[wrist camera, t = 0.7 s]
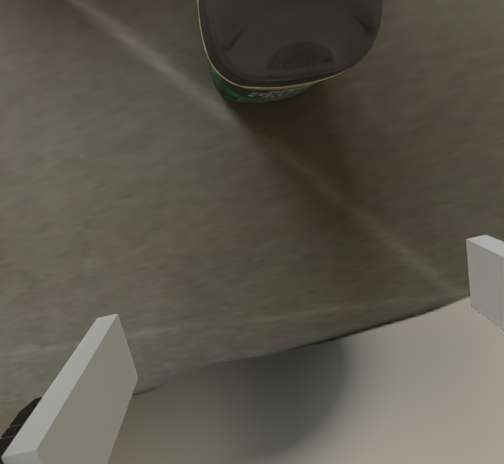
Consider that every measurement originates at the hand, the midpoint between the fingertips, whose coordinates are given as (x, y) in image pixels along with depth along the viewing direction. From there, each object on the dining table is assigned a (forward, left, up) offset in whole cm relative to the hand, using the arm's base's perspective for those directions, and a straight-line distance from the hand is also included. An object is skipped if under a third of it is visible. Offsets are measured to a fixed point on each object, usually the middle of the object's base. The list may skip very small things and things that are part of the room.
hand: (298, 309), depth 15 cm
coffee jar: (-11, +6, -25) cm, 28 cm away
